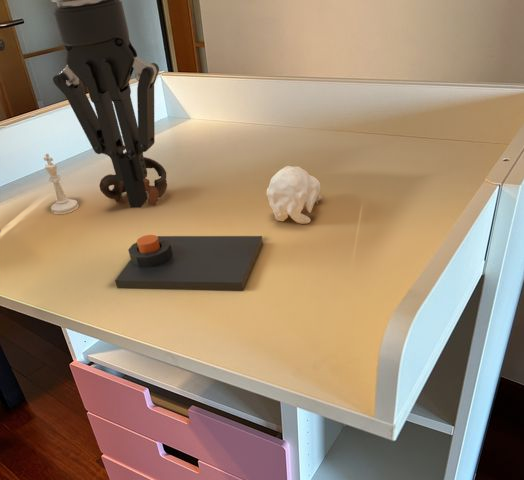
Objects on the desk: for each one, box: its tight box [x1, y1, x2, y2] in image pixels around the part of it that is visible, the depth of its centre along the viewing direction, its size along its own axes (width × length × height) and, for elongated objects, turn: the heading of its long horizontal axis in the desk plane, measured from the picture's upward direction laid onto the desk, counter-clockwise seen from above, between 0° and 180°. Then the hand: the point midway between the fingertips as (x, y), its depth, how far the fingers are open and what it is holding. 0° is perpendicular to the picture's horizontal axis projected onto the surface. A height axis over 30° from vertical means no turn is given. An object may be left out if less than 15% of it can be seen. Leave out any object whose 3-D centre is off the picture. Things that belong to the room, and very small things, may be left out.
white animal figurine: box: [266, 165, 323, 225], centre depth 88 cm, size 6×8×12 cm
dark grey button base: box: [114, 235, 264, 292], centre depth 80 cm, size 18×13×3 cm
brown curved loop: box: [99, 156, 168, 206], centre depth 100 cm, size 12×10×8 cm
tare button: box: [136, 234, 160, 253], centre depth 80 cm, size 3×3×2 cm
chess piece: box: [43, 153, 80, 215], centre depth 100 cm, size 5×5×10 cm
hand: (139, 203), depth 76 cm, fingers closed
